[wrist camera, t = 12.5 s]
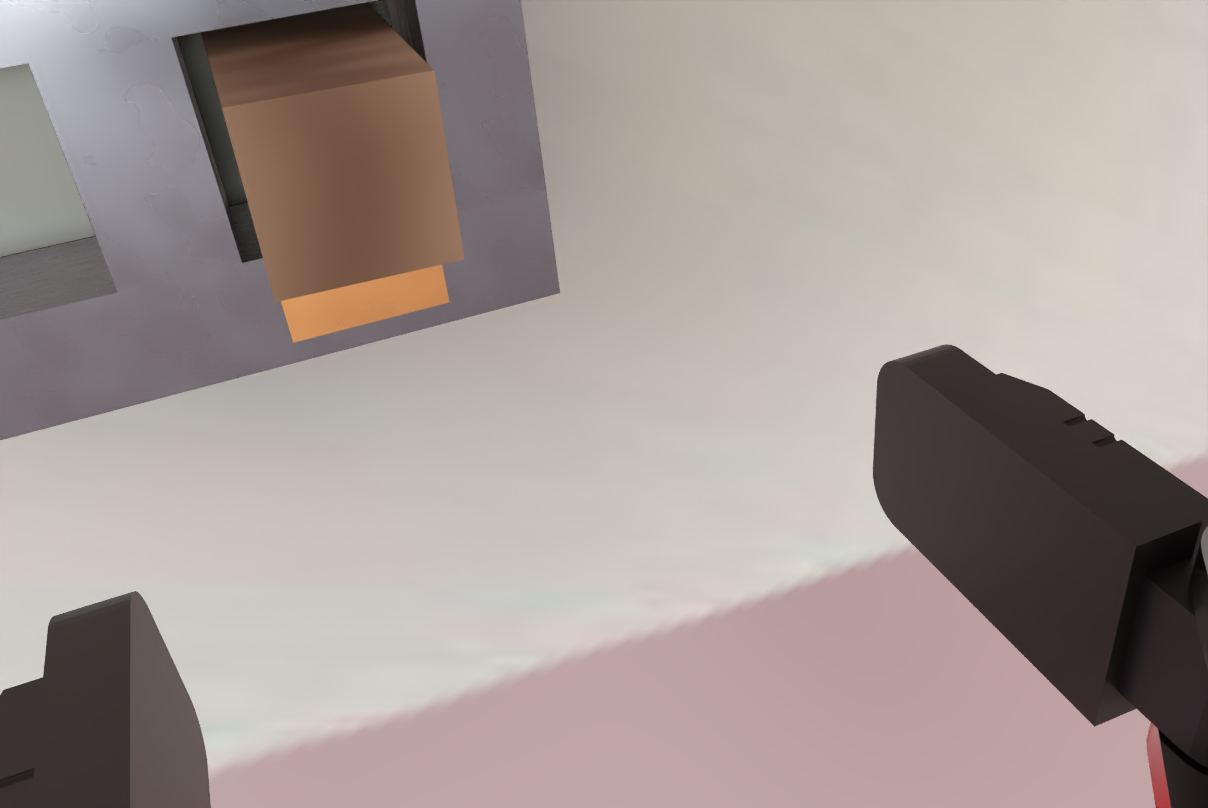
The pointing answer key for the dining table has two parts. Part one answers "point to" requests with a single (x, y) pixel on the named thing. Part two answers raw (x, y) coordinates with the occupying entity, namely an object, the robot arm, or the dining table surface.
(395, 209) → the walnut peg
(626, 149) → the dining table surface
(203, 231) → the grey socket board
